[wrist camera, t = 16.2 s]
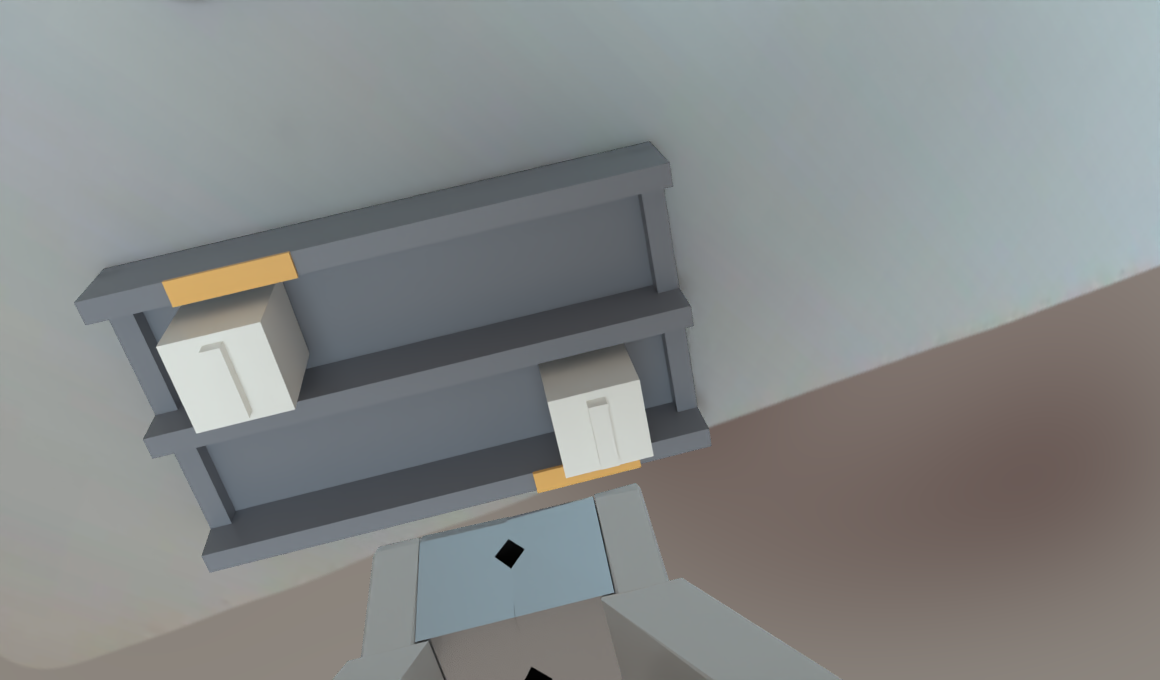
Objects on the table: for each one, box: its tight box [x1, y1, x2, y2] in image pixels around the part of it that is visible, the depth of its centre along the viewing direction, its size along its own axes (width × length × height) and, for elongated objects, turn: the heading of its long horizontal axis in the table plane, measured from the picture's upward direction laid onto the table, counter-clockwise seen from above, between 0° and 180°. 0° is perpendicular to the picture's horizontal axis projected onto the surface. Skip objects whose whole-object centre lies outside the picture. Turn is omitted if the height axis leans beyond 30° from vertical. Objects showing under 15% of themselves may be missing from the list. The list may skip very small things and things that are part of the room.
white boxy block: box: [538, 343, 654, 478], centre depth 41 cm, size 4×4×6 cm
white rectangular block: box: [156, 282, 309, 434], centre depth 37 cm, size 4×4×6 cm
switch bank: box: [74, 142, 711, 572], centre depth 40 cm, size 24×14×4 cm, turn 101°
